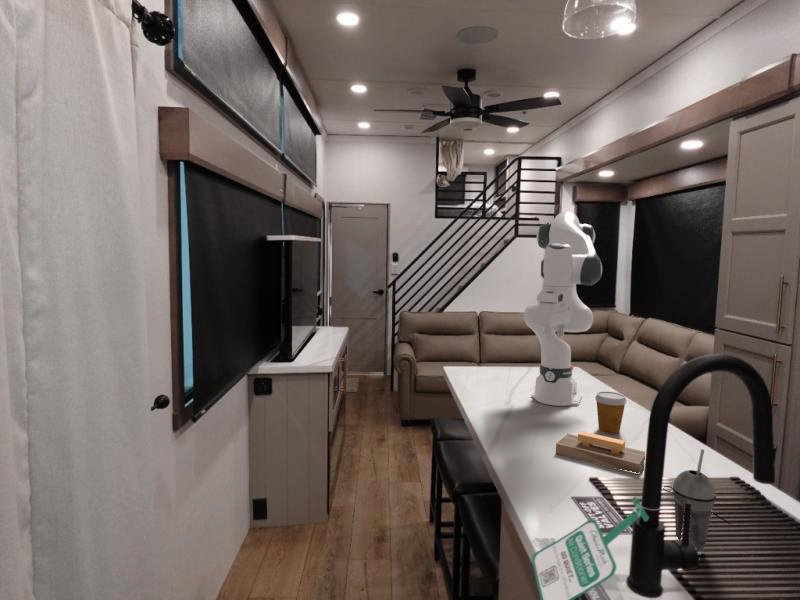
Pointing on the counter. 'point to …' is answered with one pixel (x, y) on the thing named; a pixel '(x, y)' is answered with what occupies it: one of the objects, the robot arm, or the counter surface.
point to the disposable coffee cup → (610, 411)
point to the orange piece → (601, 441)
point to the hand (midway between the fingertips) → (555, 338)
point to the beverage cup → (694, 503)
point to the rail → (601, 454)
